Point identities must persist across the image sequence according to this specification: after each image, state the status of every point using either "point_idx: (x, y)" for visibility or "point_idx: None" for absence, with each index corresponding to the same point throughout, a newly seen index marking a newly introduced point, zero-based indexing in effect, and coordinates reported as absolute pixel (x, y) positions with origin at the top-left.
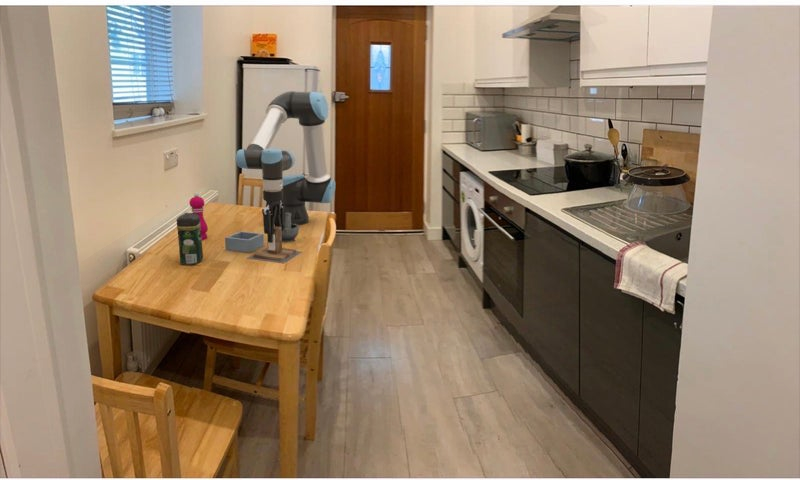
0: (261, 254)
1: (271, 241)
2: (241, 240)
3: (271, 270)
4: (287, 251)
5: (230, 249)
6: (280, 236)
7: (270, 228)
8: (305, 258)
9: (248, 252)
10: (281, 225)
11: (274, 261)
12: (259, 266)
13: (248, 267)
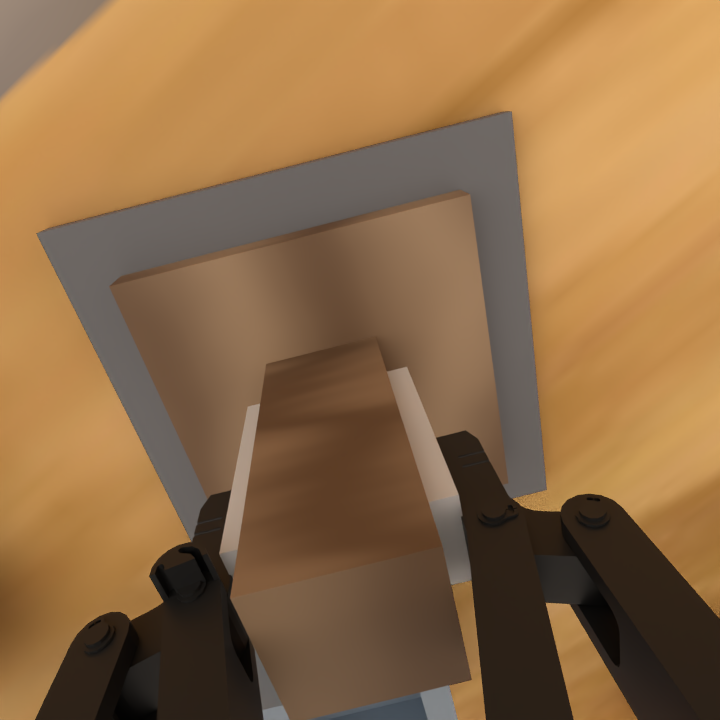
0: None
1: (471, 439)
2: (454, 707)
3: (693, 104)
4: (229, 316)
5: None
6: (286, 465)
7: (632, 581)
8: (148, 68)
9: None
10: (162, 654)
11: (504, 243)
12: (628, 291)
13: (686, 345)
